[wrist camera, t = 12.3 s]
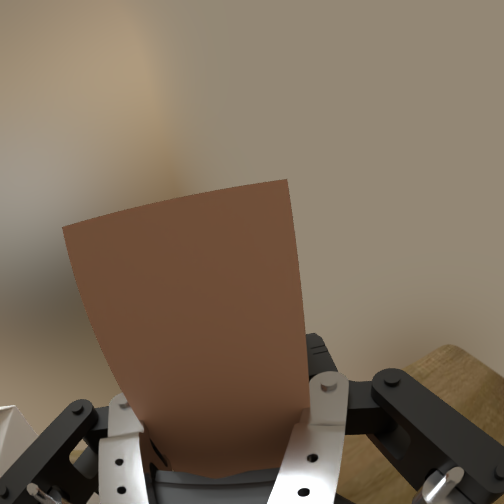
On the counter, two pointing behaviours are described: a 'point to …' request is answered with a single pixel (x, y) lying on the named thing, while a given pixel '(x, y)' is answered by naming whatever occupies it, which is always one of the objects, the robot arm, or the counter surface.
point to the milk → (18, 440)
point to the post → (202, 322)
